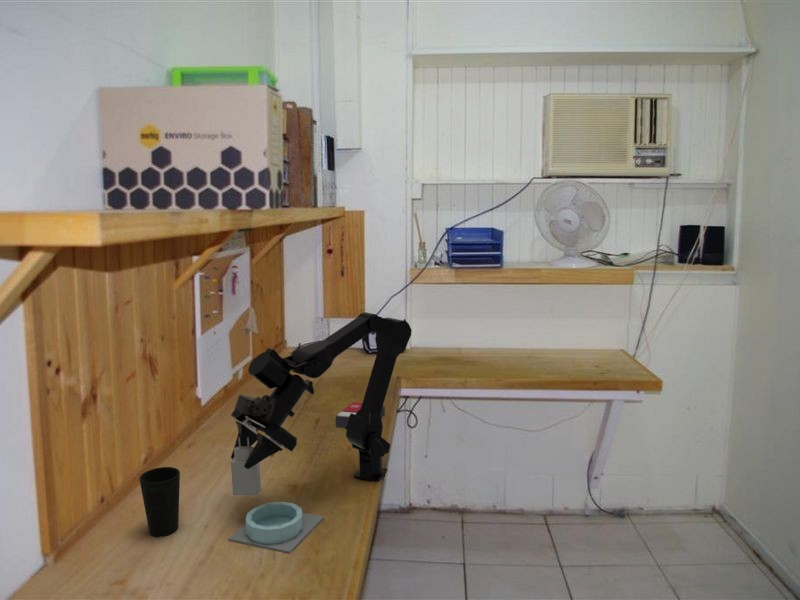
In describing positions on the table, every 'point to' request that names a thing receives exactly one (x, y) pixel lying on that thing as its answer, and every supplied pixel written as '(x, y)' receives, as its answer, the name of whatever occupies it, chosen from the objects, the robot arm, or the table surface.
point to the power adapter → (244, 472)
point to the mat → (307, 526)
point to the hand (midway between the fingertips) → (239, 463)
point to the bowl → (274, 522)
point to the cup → (161, 500)
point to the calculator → (352, 408)
